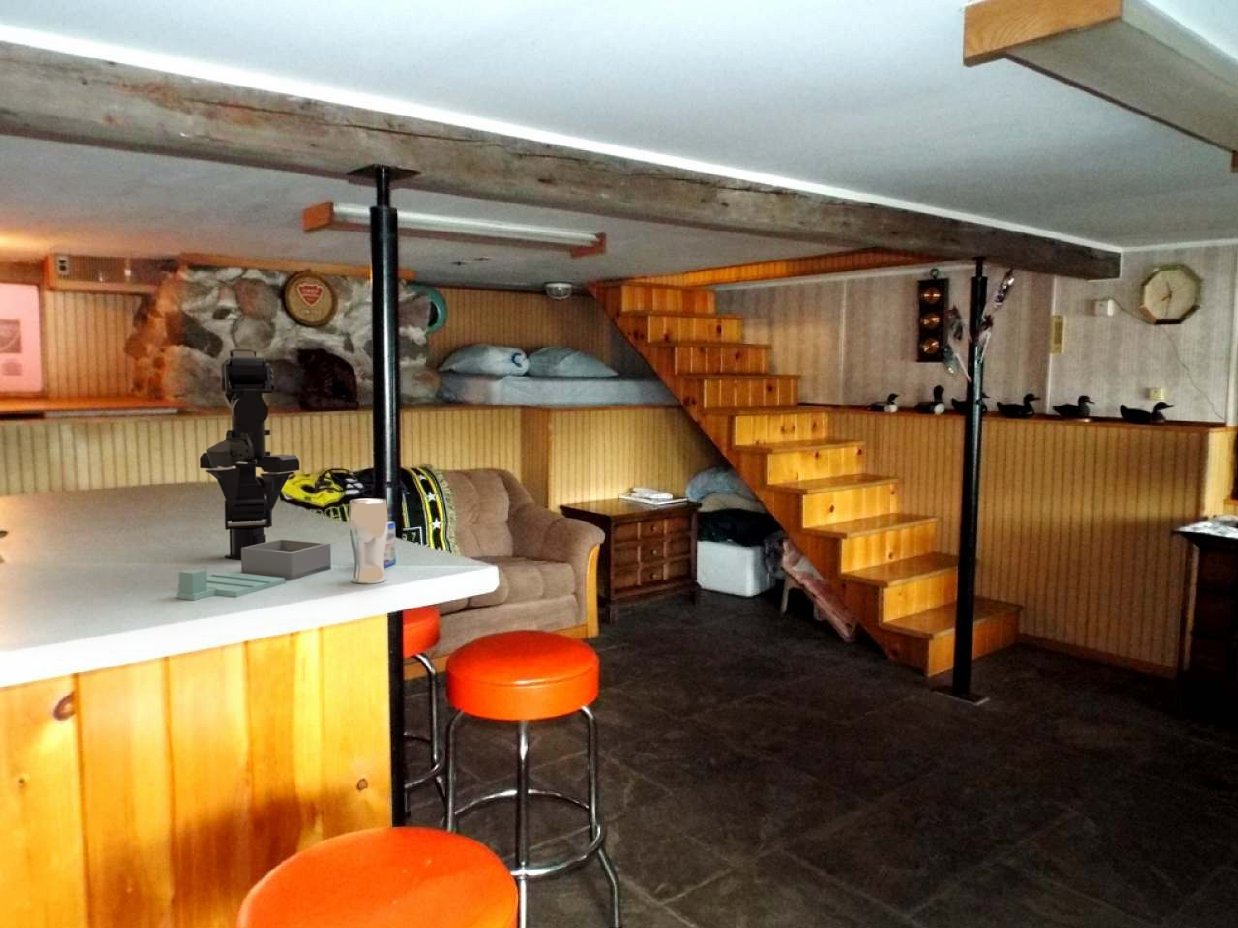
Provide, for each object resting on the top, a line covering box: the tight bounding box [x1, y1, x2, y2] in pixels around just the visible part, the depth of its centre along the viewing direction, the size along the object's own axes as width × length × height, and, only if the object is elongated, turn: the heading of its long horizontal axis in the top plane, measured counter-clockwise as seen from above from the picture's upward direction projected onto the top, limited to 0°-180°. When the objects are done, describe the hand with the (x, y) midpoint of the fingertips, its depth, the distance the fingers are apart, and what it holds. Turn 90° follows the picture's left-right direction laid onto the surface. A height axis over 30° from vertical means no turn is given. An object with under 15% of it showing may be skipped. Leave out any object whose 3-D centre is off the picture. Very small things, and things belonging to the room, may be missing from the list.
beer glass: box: [348, 497, 389, 585], centre depth 171 cm, size 7×7×15 cm
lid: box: [176, 568, 286, 601], centre depth 163 cm, size 13×17×4 cm
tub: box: [240, 538, 332, 581], centre depth 178 cm, size 12×11×5 cm
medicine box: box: [383, 521, 397, 569], centre depth 184 cm, size 8×4×9 cm, turn 168°
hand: (250, 507), depth 173 cm, fingers open, 9 cm apart
